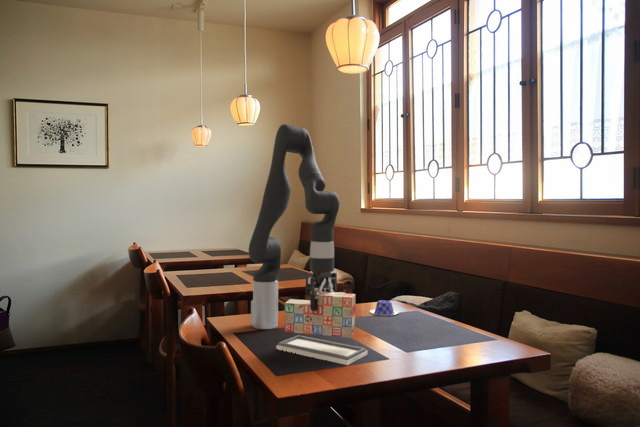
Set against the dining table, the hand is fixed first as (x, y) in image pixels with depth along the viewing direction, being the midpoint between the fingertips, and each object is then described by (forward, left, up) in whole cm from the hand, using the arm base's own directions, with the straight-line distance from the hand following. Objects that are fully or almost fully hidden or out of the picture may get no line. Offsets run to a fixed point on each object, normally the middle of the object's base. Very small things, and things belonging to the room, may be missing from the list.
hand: (321, 308), depth 153 cm
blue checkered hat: (-8, +59, -14) cm, 61 cm away
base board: (0, 0, -14) cm, 14 cm away
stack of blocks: (0, 0, -8) cm, 8 cm away
